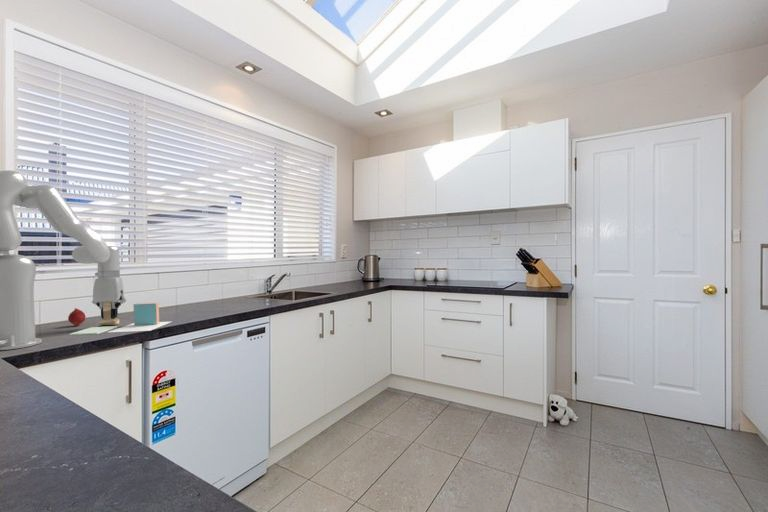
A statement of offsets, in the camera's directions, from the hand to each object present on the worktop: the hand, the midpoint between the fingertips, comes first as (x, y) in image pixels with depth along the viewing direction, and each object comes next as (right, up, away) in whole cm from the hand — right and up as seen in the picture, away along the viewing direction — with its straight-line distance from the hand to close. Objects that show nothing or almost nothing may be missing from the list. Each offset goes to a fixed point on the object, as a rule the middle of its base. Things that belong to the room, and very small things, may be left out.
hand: (109, 317), depth 155 cm
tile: (+16, -3, -1) cm, 17 cm away
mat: (+17, -4, -5) cm, 18 cm away
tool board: (+2, -4, -11) cm, 12 cm away
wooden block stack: (0, -3, 0) cm, 3 cm away
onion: (-17, -4, +4) cm, 18 cm away
